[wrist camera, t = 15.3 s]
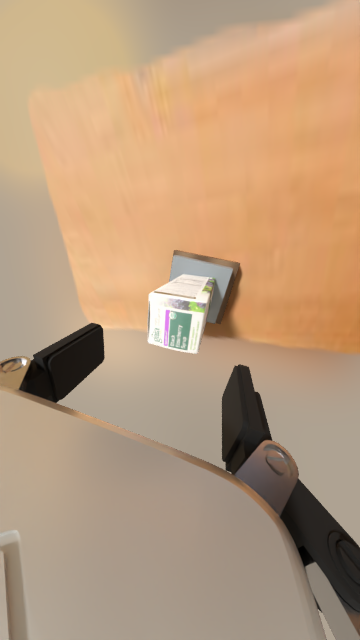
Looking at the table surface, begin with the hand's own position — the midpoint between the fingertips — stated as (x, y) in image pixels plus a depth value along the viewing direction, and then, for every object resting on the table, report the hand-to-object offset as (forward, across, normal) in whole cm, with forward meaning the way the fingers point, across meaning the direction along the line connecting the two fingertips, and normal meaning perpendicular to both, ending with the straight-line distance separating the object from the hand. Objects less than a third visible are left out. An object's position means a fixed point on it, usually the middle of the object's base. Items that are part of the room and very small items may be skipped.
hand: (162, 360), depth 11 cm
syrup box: (+20, +1, 0) cm, 20 cm away
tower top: (+22, +1, 0) cm, 22 cm away
